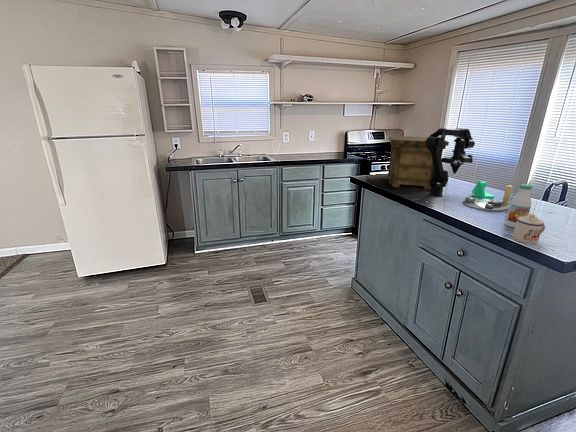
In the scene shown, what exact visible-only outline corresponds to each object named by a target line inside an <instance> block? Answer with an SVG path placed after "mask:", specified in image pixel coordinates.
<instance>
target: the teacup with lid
mask: <svg viewBox="0 0 576 432" xmlns="http://www.w3.org/2000/svg"><path fill="white" fill-rule="evenodd" d="M545 230H546V226H545V222H544V220H542V219H540V218H538V217H537V216H536V214H534V213H529V215H528V216H521V217H518V218H517V223H516V226H515V228H514V231H513V234H512V238H514V239H513V240H515V239H516V240H518V241H517V242H519V241H521V242H520V243H522V242H525V243H524V244H526V243H536V244H537V243H538V242H539V239H540V236H541V234H543V233H544V232H545ZM516 240H515V241H516Z"/></svg>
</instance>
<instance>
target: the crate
mask: <svg viewBox="0 0 576 432" xmlns="http://www.w3.org/2000/svg"><path fill="white" fill-rule="evenodd" d="M428 137H429V136H407V135H405V136H404V135H389V137H388V139H389V141H390V146H391V148H390V156H389V162H388V164H389V165H388V171H387V177H389V182H388V183H389V184H390V185H391V186H394V188H399V187H400V185H405V186H406V185H408V186H420V187H421V186H422V188H423V190H431V185H429V181H430V180H431V179H432V178H433V174H434V172H435V170H434V165H433V160H432V155H431V152H430V151H429V149H428V148H427V146H426V140H427V138H428ZM449 144H450V141H448V140H446V139H445V141H444V142H443V143H442V147H441V149H440V153H441V158H443V157H442V156H443V151H444V150H446V147H448V146H449Z"/></svg>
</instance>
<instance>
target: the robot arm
mask: <svg viewBox="0 0 576 432" xmlns="http://www.w3.org/2000/svg"><path fill="white" fill-rule="evenodd" d="M471 134H472V133H471V131H470V129H469V128H461V127H458V128H455V129H451V128H450V129H449V128H442V127H441V128H438V129H437V130H436V131H435V132H433V133H431V134H430V135H429V136H427V137H428V138H427V140H426V146H427V148H428V149H429V151H430V152H431V155H432V160H433V165H434V170H435V172H434V174H433V178H432V179H431V180H430V181H429V185H431V189H429V191H430V192H428V193H427V194H428V195H429V196H432V197H436V198H437V197H443V196H444V195H443V191H444V188H446V186H447V184H448V182H449V178H450V177H449V172H448V171H447V170H444V165H443V163H444V164H449V165H450V167H451V170H452V173H453V174H456V173H457V172H458V171H459V169H460V168H461V166H463V165H465V163H468V164H469V163H470V164H472V163H473V162H474V159H473V154H470V153H469V154H466V149H472V148H474V146H475V144H476V143H475V140H474V138H473V137H472V135H471ZM439 136H440V137H439ZM446 136H453V137H454V138H455V139H453V142H454V147H453V148H454V149H452V156H451V157H441V153H440V149H441V147H442V143H443V142H444V141H445V140H446Z"/></svg>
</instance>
